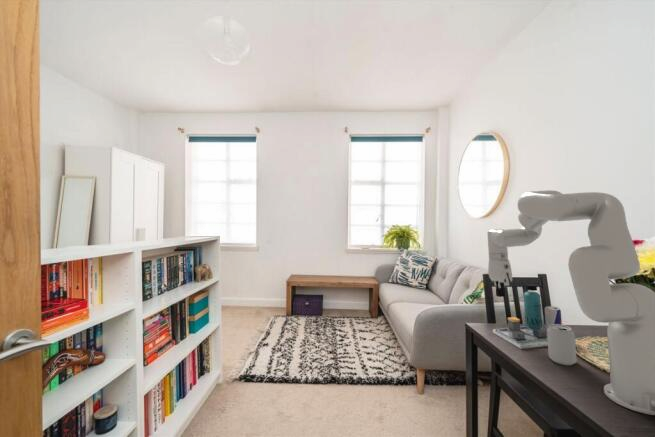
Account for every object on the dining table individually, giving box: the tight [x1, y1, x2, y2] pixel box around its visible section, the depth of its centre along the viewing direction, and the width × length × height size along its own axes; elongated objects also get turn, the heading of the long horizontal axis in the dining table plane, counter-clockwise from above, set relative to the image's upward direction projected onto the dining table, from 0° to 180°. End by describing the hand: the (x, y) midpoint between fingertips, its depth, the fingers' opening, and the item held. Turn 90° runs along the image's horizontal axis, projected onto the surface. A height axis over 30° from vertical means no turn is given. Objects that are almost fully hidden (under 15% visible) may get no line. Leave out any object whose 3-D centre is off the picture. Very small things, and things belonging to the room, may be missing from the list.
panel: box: [492, 325, 548, 350], centre depth 117 cm, size 16×14×4 cm
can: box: [546, 324, 578, 366], centre depth 98 cm, size 8×8×12 cm
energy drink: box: [544, 305, 563, 336], centre depth 117 cm, size 5×5×12 cm
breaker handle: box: [507, 316, 521, 331], centre depth 121 cm, size 3×3×5 cm
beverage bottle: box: [522, 283, 544, 330], centre depth 125 cm, size 6×7×20 cm
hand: (500, 296), depth 129 cm, fingers closed
